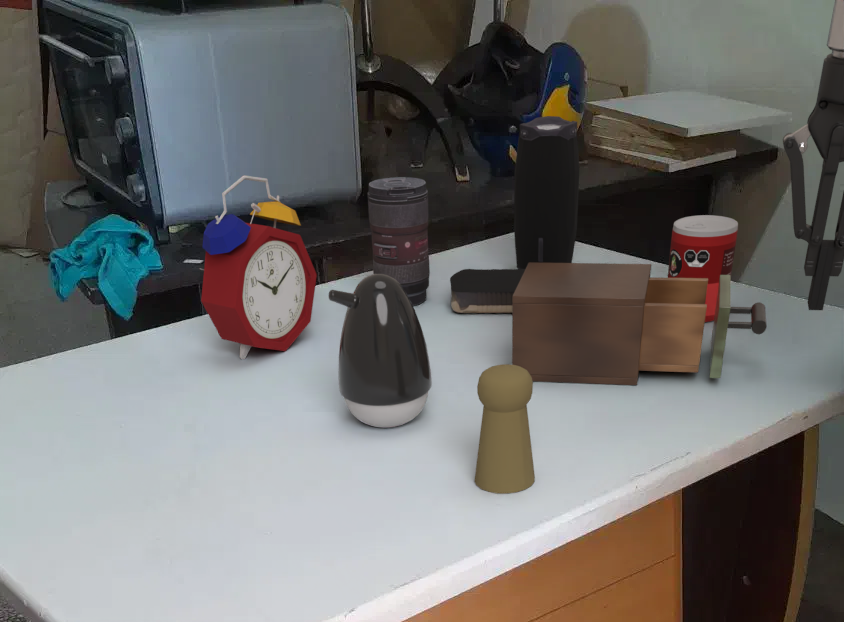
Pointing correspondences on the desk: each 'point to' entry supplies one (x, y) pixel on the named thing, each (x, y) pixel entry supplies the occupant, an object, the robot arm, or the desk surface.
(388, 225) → the camera lens
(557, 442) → the desk surface
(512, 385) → the tan game pawn
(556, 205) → the portable speaker
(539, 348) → the cabinet
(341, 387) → the pump dispenser
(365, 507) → the desk surface
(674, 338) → the drawer
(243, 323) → the alarm clock
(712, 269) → the canned food
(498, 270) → the scrub brush
